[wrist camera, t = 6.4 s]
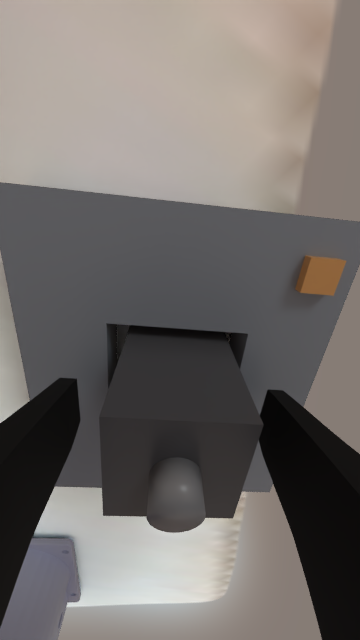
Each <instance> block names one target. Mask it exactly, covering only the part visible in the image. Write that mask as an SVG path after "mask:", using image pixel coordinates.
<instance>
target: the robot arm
mask: <svg viewBox="0 0 360 640" xmlns="http://www.w3.org/2000/svg"><path fill="white" fill-rule="evenodd" d="M260 418H261V420H262V422H263V428H262V431H261V434H260V437H259V444H260V447H261V451H262V455H263V458H264V460H265V463H266V466H267V468H268V471H269V474H270V476H271V479H272V482H273V484H274V487H275V489H276V492H277V494H278V497H279V500H280V502H281V505H282V507H283V510H284V512H285V515H286V518H287V520H288V523H289V526H290V529H291V531H292V534H293V537H294V540H295V544H296V547H297V550H298V554H299V557H300V561H301V564H302V567H303V571H304V574H305V577H306V581H307V585H308V588H309V592H310V596H311V599H312V603H313V606H314V610H315V614H316V617H317V621H318V625H319V629H320V633H321V637H322V640H360V454H359V453H358V452H356V451H355V450H354V449H352V448H351V447H350V446H349V445H347V444H346V443H345V442H344V441H342V440H341V439H340V438H339V437H338V436H336V435H335V434H334V433H333V432H331V431H330V430H329V429H328V428H327V427H326V426H324V425H323V424H322V423H321V422H320V421H319V420H317V419H316V418H315V417H314V416H313V415H312V414H310V413H309V412H308V411H307V410H306V409H305V408H304V407H302V406H301V405H300V404H299V403H298V402H297V401H295V400H294V399H293V398H292V397H291V396H290V395H288V394H287V393H286V392H284V391H283V390H269V389H268V390H267V393H266V396H265V400H264V403H263V406H262V410H261V413H260ZM80 421H81V419H80V408H79V397H78V386H77V379H75V378H59V379H57V380H56V381H55V382H53V383H52V384H51V385H50V386H48V387H47V388H46V389H45V390H43V391H42V392H41V393H39V394H38V395H37V396H36V397H34V398H33V399H32V400H31V401H29V402H28V403H27V404H25V405H24V406H23V407H21V408H20V409H19V410H18V411H16V412H15V413H14V414H12V415H11V416H10V417H8V418H7V419H6V420H4V421H3V422H1V423H0V640H58V636H59V633H60V629H61V625H62V621H63V617H64V614H65V610H66V606H67V602H78V601H79V600H80V596H81V591H80V584H79V577H78V571H77V564H76V557H75V550H74V544H73V541H72V540H71V539H67V538H32V537H33V534H34V532H35V529H36V527H37V525H38V522H39V520H40V517H41V515H42V513H43V511H44V509H45V506H46V504H47V502H48V500H49V498H50V495H51V493H52V491H53V489H54V487H55V484H56V482H57V480H58V478H59V476H60V473H61V471H62V469H63V467H64V464H65V462H66V460H67V458H68V456H69V453H70V451H71V449H72V446H73V443H74V440H75V437H76V434H77V430H78V427H79V424H80Z"/></svg>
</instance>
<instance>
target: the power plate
mask: <svg viewBox="0 0 360 640" xmlns="http://www.w3.org/2000/svg"><path fill="white" fill-rule="evenodd" d="M0 250H1V255H2V260H3V265H4V270H5V275H6V281H7V286H8V291H9V296H10V301H11V306H12V311H13V316H14V321H15V326H16V332H17V337H18V342H19V347H20V352H21V357H22V362H23V367H24V372H25V378H26V383H27V388H28V393H29V398H30V401H31V400H32V399H33V398H34V397H36V396H37V395H38V394H39V393H41V392H42V391H43V390H45V389H46V388H47V387H48V386H50V385H51V384H52V383H53V382H55V381H56V380H57V379H59V378H75V379H77V386H78V397H79V408H80V419H81V421H80V424H79V427H78V430H77V434H76V437H75V440H74V443H73V446H72V449H71V451H70V453H69V456H68V458H67V460H66V462H65V464H64V467H63V469H62V471H61V473H60V476H59V478H58V480H57V482H56V484H55V486H59V487H97V488H102V473H101V450H100V427H99V415H100V413H101V410H102V407H103V404H104V401H105V398H106V395H107V392H108V389H109V386H110V383H111V381H112V378H113V375H114V372H115V369H116V366H117V363H118V355H117V324H123V325H137V326H150V327H164V328H178V329H191V330H205V331H219V332H232V335H231V340H230V348H231V350H232V352H233V355H234V357H235V359H236V362H237V364H238V366H239V369H240V371H241V373H242V376H243V378H244V380H245V383H246V385H247V387H248V390H249V392H250V394H251V397H252V399H253V401H254V404H255V406H256V408H257V411H258V413H259V415H260V413H261V410H262V406H263V403H264V400H265V396H266V393H267V390H268V389H269V390H283V391H284V392H286V393H287V394H288V395H290V396H291V397H292V398H293V399H294V400H295V401H297V402H298V403H299V404H300V405H301V406H302V407H303V406H304V404H305V401H306V398H307V396H308V393H309V391H310V388H311V386H312V383H313V381H314V378H315V376H316V373H317V371H318V368H319V366H320V363H321V360H322V358H323V355H324V353H325V350H326V348H327V345H328V343H329V340H330V338H331V335H332V332H333V330H334V328H335V325H336V322H337V320H338V318H339V315H340V313H341V310H342V307H343V305H344V302H345V300H346V297H347V295H348V292H349V290H350V287H351V285H352V282H353V280H354V277H355V275H356V272H357V270H358V267H359V265H360V222H357V221H348V220H339V219H330V218H320V217H311V216H302V215H293V214H284V213H275V212H266V211H257V210H248V209H238V208H229V207H220V206H211V205H202V204H193V203H184V202H175V201H165V200H156V199H147V198H138V197H129V196H120V195H111V194H102V193H93V192H83V191H74V190H65V189H56V188H47V187H38V186H29V185H20V184H10V183H1V182H0ZM272 484H273V482H272V479H271V476H270V474H269V471H268V468H267V466H266V463H265V460H264V458H263V455H262V451H261V447H260V444H259V440H258V444H257V447H256V450H255V453H254V456H253V459H252V462H251V465H250V468H249V471H248V474H247V477H246V480H245V483H244V486H243V489H242V491H246V492H270V489H271V487H272Z"/></svg>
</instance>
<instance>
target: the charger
mask: <svg viewBox="0 0 360 640" xmlns="http://www.w3.org/2000/svg"><path fill="white" fill-rule="evenodd" d="M99 427H100V450H101V473H102V497H103V516H147V520H148V522H149V524H150V525H151V526H153V527H154V528H156V529H158V530H161V531H165V532H184V531H188V530H191V529H194V528H196V527H197V526H199V525H200V524H201V523H202V522H203V521H204V519H205V518H233V516H234V513H235V510H236V507H237V504H238V501H239V498H240V495H241V492H242V489H243V486H244V483H245V480H246V477H247V474H248V471H249V468H250V465H251V462H252V459H253V456H254V453H255V450H256V447H257V444H258V440H259V437H260V434H261V431H262V428H263V422H262V420H261V418H260V415H259V413H258V411H257V408H256V406H255V404H254V401H253V399H252V397H251V394H250V392H249V390H248V387H247V385H246V383H245V380H244V378H243V376H242V373H241V371H240V369H239V366H238V364H237V362H236V359H235V357H234V355H233V352H232V350H231V348H230V345H229V343H228V341H227V338H226V336H225V334H224V332H219V331H205V330H191V329H178V328H164V327H150V326H137V325H130V328H129V331H128V334H127V337H126V340H125V343H124V346H123V349H122V352H121V354H120V357H119V360H118V363H117V366H116V369H115V372H114V375H113V378H112V381H111V383H110V386H109V389H108V392H107V395H106V398H105V401H104V404H103V407H102V410H101V413H100V415H99Z"/></svg>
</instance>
